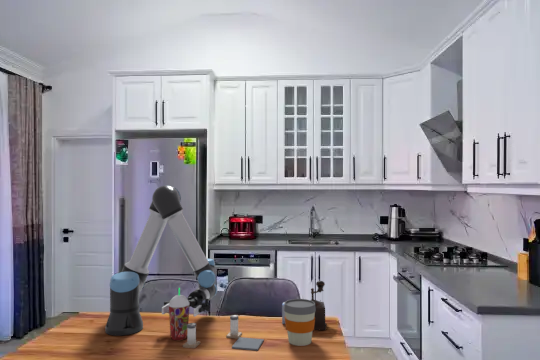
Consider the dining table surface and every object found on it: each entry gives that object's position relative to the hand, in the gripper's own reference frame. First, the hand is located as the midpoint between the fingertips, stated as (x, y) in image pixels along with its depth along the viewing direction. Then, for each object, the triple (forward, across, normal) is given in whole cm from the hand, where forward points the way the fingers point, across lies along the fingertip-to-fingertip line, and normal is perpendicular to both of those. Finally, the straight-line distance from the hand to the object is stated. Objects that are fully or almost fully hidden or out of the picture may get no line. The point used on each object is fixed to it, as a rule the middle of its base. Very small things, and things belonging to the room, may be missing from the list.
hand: (178, 312), depth 162 cm
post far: (-8, -21, -11) cm, 25 cm away
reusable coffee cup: (-8, -48, -11) cm, 50 cm away
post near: (+4, -8, -11) cm, 14 cm away
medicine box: (-29, -41, -11) cm, 51 cm away
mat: (-1, -29, -11) cm, 31 cm away
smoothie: (-2, 0, -11) cm, 11 cm away
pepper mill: (-29, -51, -11) cm, 60 cm away
